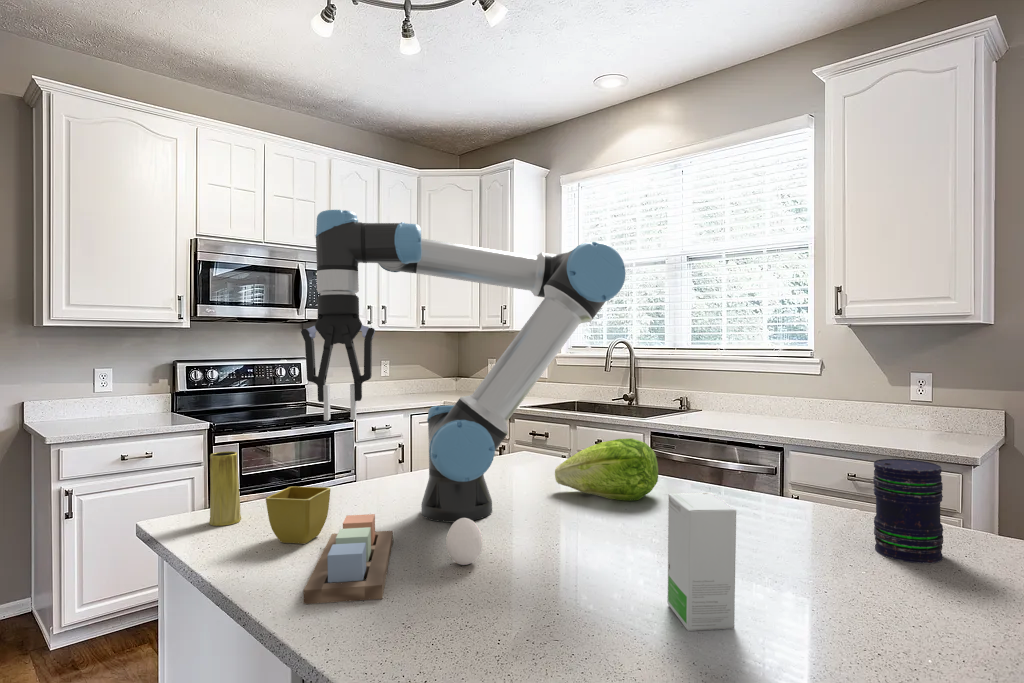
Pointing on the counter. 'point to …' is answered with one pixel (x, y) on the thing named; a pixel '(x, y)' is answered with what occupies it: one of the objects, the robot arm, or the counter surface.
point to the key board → (351, 591)
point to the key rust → (361, 523)
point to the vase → (224, 489)
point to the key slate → (346, 562)
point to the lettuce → (611, 470)
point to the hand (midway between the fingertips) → (340, 418)
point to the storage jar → (908, 510)
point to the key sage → (356, 537)
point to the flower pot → (298, 513)
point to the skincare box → (701, 560)
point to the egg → (464, 541)
